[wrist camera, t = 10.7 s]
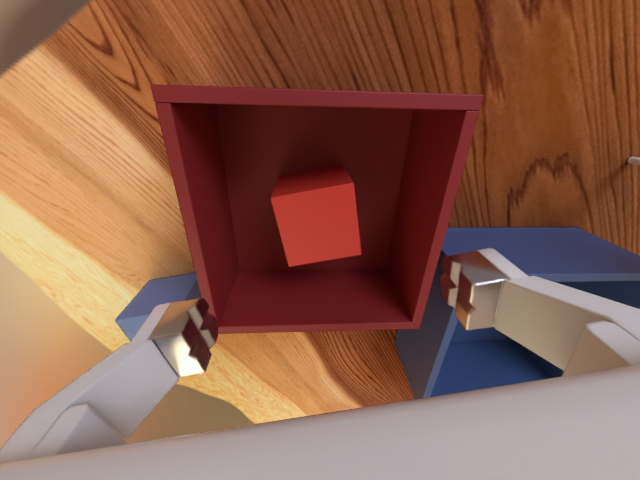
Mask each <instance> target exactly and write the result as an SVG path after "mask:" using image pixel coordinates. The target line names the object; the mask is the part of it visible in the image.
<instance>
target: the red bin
mask: <svg viewBox="0 0 640 480" xmlns="http://www.w3.org/2000/svg"><path fill="white" fill-rule="evenodd" d="M151 89H152V93H153V97H154V101H155V102H157V103H155V105H156V109H157V113H158V118H159V122H160V126H161V130H162V134H163V139H164V143H165V147H166V151H167V155H168V159H169V164H170V168H171V172H172V176H173V180H174V185H175V189H176V193H177V197H178V201H179V205H180V210H181V214H182V218H183V222H184V226H185V231H186V235H187V239H188V243H189V247H190V252H191V256H192V260H193V264H194V268H195V272H196V277H197V281H198V285H199V289H200V293H201V298H204V299H206V301H207V303H208V304H209V309H208V312H209V313H211V314H212V315H214V316H215V318H216V320H217V324H218V334H226V333H267V332H308V331H349V330H390V329H419V328H420V324H421V321H422V317H423V313H424V310H425V306H426V303H427V299H428V295H429V292H430V288H431V285H432V281H433V277H434V274H435V270H436V267H437V263H438V259H439V256H440V252H441V249H442V245H443V241H444V238H445V234H446V231H447V227H448V223H449V220H450V216H451V212H452V209H453V205H454V202H455V198H456V194H457V191H458V187H459V184H460V180H461V176H462V173H463V169H464V166H465V162H466V158H467V155H468V151H469V148H470V144H471V140H472V137H473V133H474V129H475V126H476V122H477V119H478V115H479V110H480V108H481V104H482V100H483V97H484V95H480V94H447V93H414V92H381V91H348V90H316V89H283V88H250V87H217V86H184V85H151ZM339 165H343V166H344V168H345V170H346V171H347V173H348V174H349V176H350V178H351V179H352V181H353V183H354V187H355V196H356V206H357V215H358V225H359V234H360V243H361V255H357V256H351V257H345V258H339V259H333V260H327V261H321V262H316V263H310V264H304V265H298V266H292V267H289V266H288V262H287V259H286V255H285V251H284V248H283V244H282V240H281V236H280V233H279V229H278V225H277V222H276V218H275V214H274V210H273V207H272V203H271V199H270V198H271V195H272V192H273V189H274V186H275V183H276V181H277V178H278V176H283V175H289V174H295V173H300V172H306V171H311V170H317V169H322V168H328V167H333V166H339Z"/></svg>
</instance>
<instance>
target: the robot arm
mask: <svg viewBox="0 0 640 480" xmlns="http://www.w3.org/2000/svg"><path fill="white" fill-rule="evenodd" d="M441 268H442V269H443V270H444V271H445V272H444V274H443V275H442V276H441V277H440V288H441V292H442V295H443V297H444V299H445V301H446V302H447V304H448V305H450V306H452V307H454V308H456V309H455V315H456V317H457V318H458V320H459V321H460V323H461V324H462V325H463V327H464V328H465V330H466V331H467V330H474V329H482V328H489V327H494V328H495V329H496V330H498V331H500V332H501V333H503V334H505V335H506V336H508V337H509V338H511V339H513V340H514V341H516V342H518V343H519V344H521V345H523V346H524V347H526V348H527V349H529V350H531V351H532V352H534V353H536V354H537V355H539V356H540V357H542V358H544V359H545V360H547V361H549V362H550V363H552V364H553V365H555V366H557V367H558V368H560V369H562V370H563V371H564V372H563V374H562V376H561V377H556V378H549V379H543V380H536V381H530V382H523V383H517V384H510V385H504V386H497V387H491V388H485V389H478V390H472V391H465V392H459V393H453V394H446V395H440V396H433V397H427V398H420V399H414V400H408V401H401V402H395V403H388V404H382V405H376V406H369V407H363V408H356V409H350V410H343V411H337V412H330V413H324V414H317V415H311V416H304V417H298V418H291V419H285V420H278V421H272V422H265V423H259V424H252V425H246V426H240V427H233V428H227V429H220V430H214V431H208V432H201V433H194V434H188V435H181V436H175V437H168V438H162V439H155V440H149V441H143V442H136V443H130V442H129V441H128V440H127V439H128V438H129V437H130V436H131V435H132V433H133V432H134V431H135V430H136V429H137V428H138V427H139V425H140V424H141V423H142V422H143V421H144V420H145V418H146V417H147V416H148V415H149V414H150V413H151V411H152V410H153V409H154V408H155V407H156V406H157V405H158V403H159V402H160V401H161V400H162V399H163V398H164V396H165V395H166V394H167V393H168V392H169V391H170V389H171V388H172V387H173V386H174V385H175V384H176V383H177V381H178V380H179V378H181V377H186V376H191V375H197V374H202V373H205V372H206V369H207V366H208V363H209V360H210V358H211V355H212V354H211V352H210V350H209V349H210V348H211V347H212V346H213V345H214V344H215V343H216V340H217V337H218V324H217V320H216V318H215V316H214V315H212V314H211V313H209V312H208V309H209V304H208V303H207V301H206V299H204V298H197V299H190V300H184V301H177V302H171V303H165V304H160V305H158V306H156V307H155V308H154V309H153V311H152V312H151V314H150V315H149V316H148V318H147V319H146V321H145V322H144V323H143V325H142V326H141V328H140V329H139V331H138V332H137V333H136V335H135V336H134V338H133V339H132V340H131V342H130V343H127V344H124V345H123V346H121V347H120V348H119V349H117V350H116V351H114V352H113V353H112V354H110V355H109V356H108V357H106V358H105V359H103V360H102V361H101V362H99V363H98V364H96V365H95V366H94V367H92V368H91V369H90V370H88V371H87V372H85V373H84V374H83V375H81V376H80V377H79V378H77V379H76V380H74V381H73V382H72V383H70V384H69V385H68V386H66V387H65V388H63V389H62V390H61V391H59V392H58V393H56V394H55V395H54V396H52V397H51V398H50V399H48V400H47V401H46V402H44V403H43V404H41V405H40V406H39V407H37V408H36V409H34V410H33V411H32V412H31V414H30V415H29V416H28V417H27V418H26V420H25V421H24V422H23V423H22V424H21V425H20V426H19V428H18V429H17V430H16V431H15V432H14V433H13V434H12V436H11V437H10V438H9V439H8V440H7V442H6V443H5V444H4V445H3V446H2V447H1V448H0V480H640V309H638V308H634V307H631V306H628V305H625V304H622V303H619V302H616V301H612V300H609V299H606V298H603V297H600V296H597V295H594V294H590V293H587V292H584V291H581V290H578V289H575V288H572V287H568V286H565V285H562V284H559V283H556V282H553V281H550V280H546V279H543V278H540V277H537V276H528V275H526V274H525V273H524V272H523V271H521V270H520V269H519V268H518V267H516V266H515V265H514V264H512V263H511V262H510V261H509V260H507V259H506V258H505V257H504V256H502V255H501V254H500V253H499V252H497V251H496V250H495V249H493V248H485V249H480V250H475V251H473V252H467V253H461V254H456V255H450V256H444V257H443V259H442V262H441Z"/></svg>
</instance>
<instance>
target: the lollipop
mask: <svg viewBox="0 0 640 480" xmlns="http://www.w3.org/2000/svg"><path fill="white" fill-rule="evenodd" d="M627 162H628V163H631V164H636V165H640V158H638V157H630V158H629V159H628V161H627Z"/></svg>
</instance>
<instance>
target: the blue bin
mask: <svg viewBox="0 0 640 480" xmlns="http://www.w3.org/2000/svg"><path fill="white" fill-rule="evenodd" d="M485 248H493V249H495V250H496V251H497V252H499V253H500V254H501V255H502V256H504V257H505V258H506V259H507V260H509V261H510V262H511V263H512V264H514V265H515V266H516V267H518V268H519V269H520V270H521V271H523V272H524V273H525V274H526V275H528V276H537V277H540V278H543V279H546V280H550V281H553V282H556V283H559V284H562V285H565V286H568V287H572V288H575V289H578V290H581V291H584V292H587V293H590V294H594V295H597V296H600V297H603V298H606V299H609V300H612V301H616V302H619V303H622V304H625V305H628V306H631V307H634V308H638V309H640V256H638V255H636V254H634V253H632V252H629V251H627V250H625V249H623V248H621V247H618V246H616V245H614V244H612V243H610V242H608V241H605V240H603V239H601V238H599V237H597V236H595V235H592V234H590V233H588V232H586V231H584V230H581V229H579V228H577V227H455V228H447V231H446V234H445V238H444V241H443V245H442V249H441V252H440V256H439V259H438V263H437V267H436V270H435V274H434V277H433V281H432V285H431V288H430V292H429V295H428V299H427V303H426V306H425V310H424V313H423V317H422V321H421V324H420V328H419V329H398V331H397V335H396V339H395V346H396V349H397V352H398V354H399V357H400V360H401V362H402V365H403V368H404V370H405V373H406V376H407V378H408V381H409V384H410V386H411V389H412V392H413V394H414V397H415V399H420V398H427V397H433V396H440V395H446V394H453V393H459V392H465V391H472V390H478V389H485V388H491V387H497V386H504V385H510V384H517V383H523V382H530V381H536V380H543V379H549V378H556V377H561V376H562V374H563V372H564V371H563V370H562V369H560V368H558V367H557V366H555V365H553V364H552V363H550V362H549V361H547V360H545V359H544V358H542V357H540V356H539V355H537V354H536V353H534V352H532V351H531V350H529V349H527V348H526V347H524V346H523V345H521V344H519V343H518V342H516V341H514V340H513V339H511V338H509V337H508V336H506V335H505V334H503V333H501V332H500V331H498V330H496V329H495V328H494V327H489V328H482V329H474V330H467V331H466V330H465V328H464V327H463V325H462V324H461V323H460V321H459V320H458V318H457V317H456V315H455V309H456V308H454V307H452V306H450V305H448V304H447V302H446V301H445V299H444V297H443V295H442V292H441V288H440V277H441V276H442V275H443V274H444V272H445V271H444V270H443V269H442V268H441V262H442V259H443V257H444V256H450V255H456V254H461V253H467V252H473V251H475V250H480V249H485Z"/></svg>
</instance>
